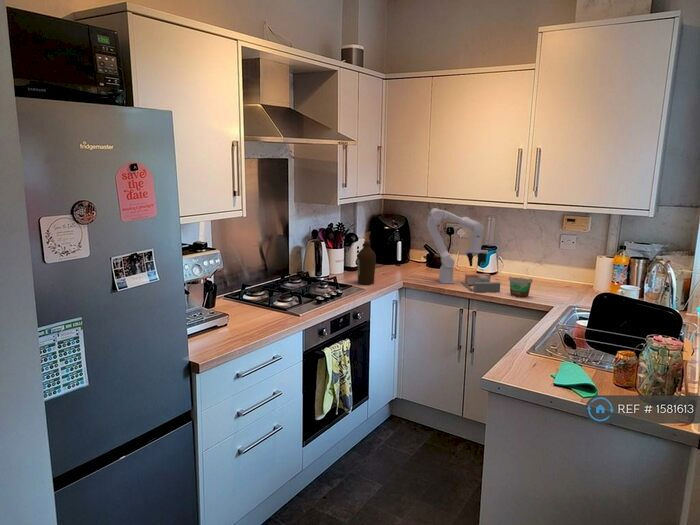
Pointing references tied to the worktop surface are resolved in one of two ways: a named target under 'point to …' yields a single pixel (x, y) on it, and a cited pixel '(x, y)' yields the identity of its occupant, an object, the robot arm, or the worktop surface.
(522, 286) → the food container
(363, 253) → the olive oil
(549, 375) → the worktop surface
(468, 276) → the clamp jaw
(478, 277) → the steel block
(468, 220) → the robot arm
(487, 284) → the vise
